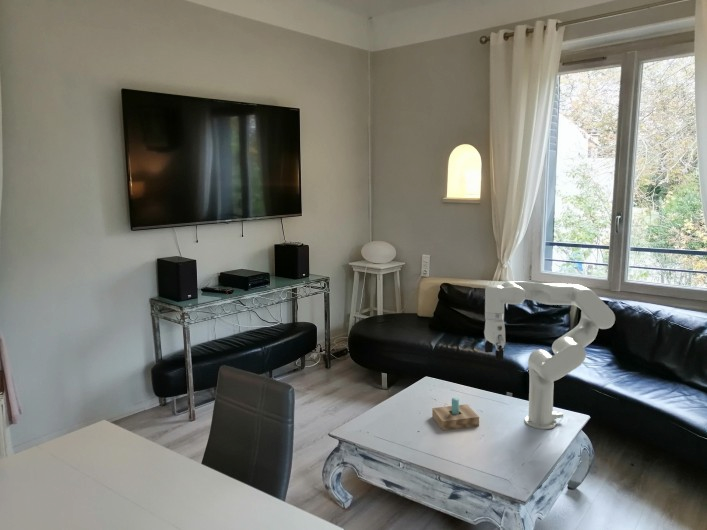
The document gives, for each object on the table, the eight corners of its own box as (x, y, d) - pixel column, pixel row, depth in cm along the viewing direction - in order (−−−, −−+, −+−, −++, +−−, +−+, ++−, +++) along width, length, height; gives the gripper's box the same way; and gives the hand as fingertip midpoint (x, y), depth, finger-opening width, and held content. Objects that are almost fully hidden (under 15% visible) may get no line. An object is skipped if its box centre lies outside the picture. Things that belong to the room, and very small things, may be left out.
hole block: (466, 412, 239) (466, 404, 238) (479, 425, 226) (479, 416, 225) (432, 416, 236) (432, 408, 235) (442, 430, 223) (442, 421, 222)
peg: (457, 419, 233) (457, 397, 231) (459, 422, 230) (460, 400, 228) (450, 420, 232) (450, 398, 230) (453, 423, 229) (453, 401, 228)
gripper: (513, 320, 211) (512, 361, 214) (493, 309, 228) (493, 348, 231) (495, 321, 210) (494, 363, 213) (477, 311, 227) (476, 350, 229)
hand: (493, 355), depth 222 cm, fingers open, 9 cm apart
